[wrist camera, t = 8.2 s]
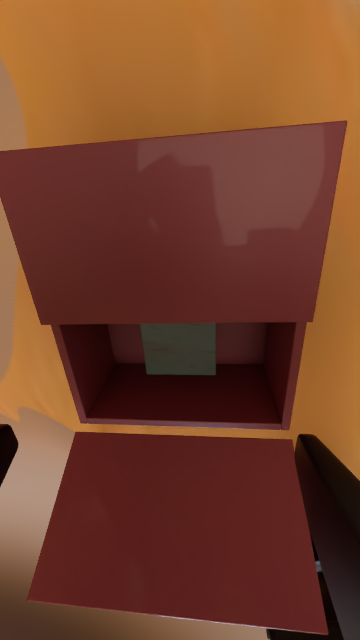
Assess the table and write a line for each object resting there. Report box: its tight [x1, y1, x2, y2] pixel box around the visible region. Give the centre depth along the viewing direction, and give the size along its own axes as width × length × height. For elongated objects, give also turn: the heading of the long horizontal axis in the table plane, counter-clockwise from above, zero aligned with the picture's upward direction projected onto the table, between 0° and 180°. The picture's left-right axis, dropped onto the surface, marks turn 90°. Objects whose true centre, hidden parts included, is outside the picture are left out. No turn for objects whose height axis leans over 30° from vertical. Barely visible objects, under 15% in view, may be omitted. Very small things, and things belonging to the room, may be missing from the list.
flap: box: [27, 432, 328, 635], centre depth 14 cm, size 7×13×1 cm
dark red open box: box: [0, 121, 347, 430], centre depth 16 cm, size 15×13×7 cm
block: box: [140, 323, 216, 375], centre depth 18 cm, size 4×4×4 cm
